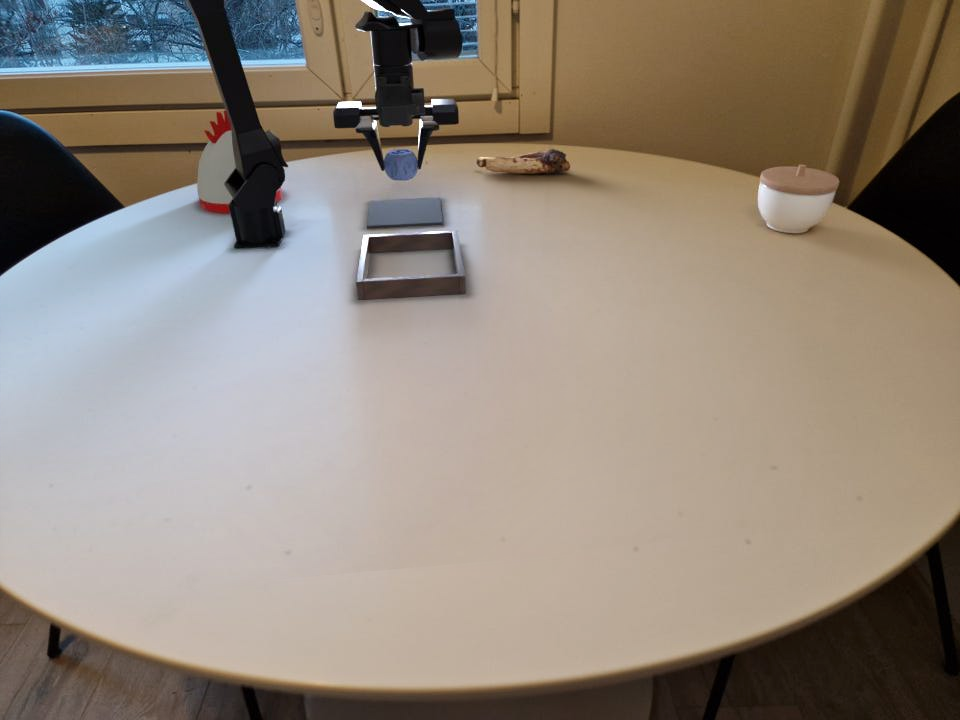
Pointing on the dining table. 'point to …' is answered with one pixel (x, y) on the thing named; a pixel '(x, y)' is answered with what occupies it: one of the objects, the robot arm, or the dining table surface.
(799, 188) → the trinket box
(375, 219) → the mat
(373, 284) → the rectangular frame
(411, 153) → the decorative dice
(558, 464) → the dining table surface
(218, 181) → the kitchen timer
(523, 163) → the overripe banana
